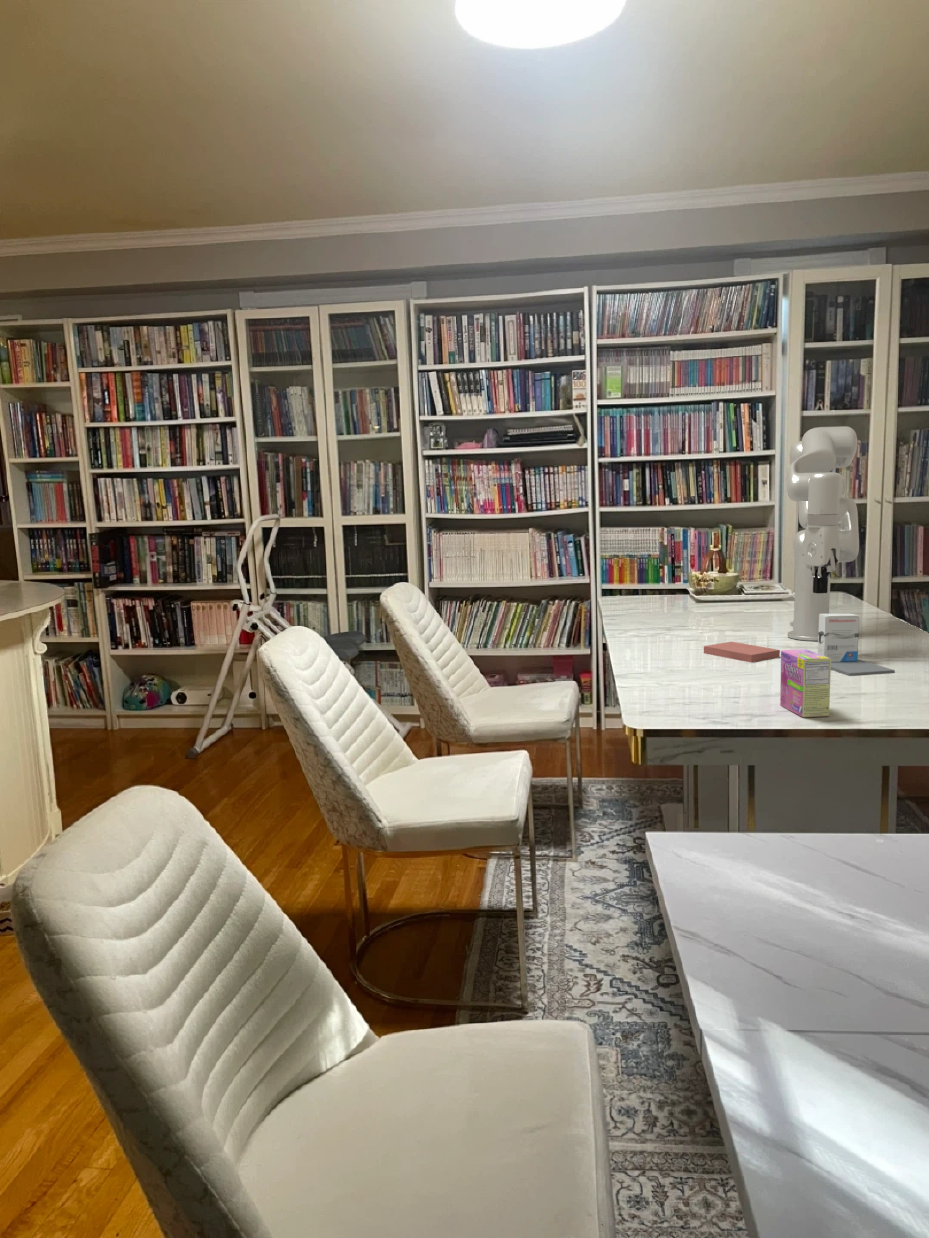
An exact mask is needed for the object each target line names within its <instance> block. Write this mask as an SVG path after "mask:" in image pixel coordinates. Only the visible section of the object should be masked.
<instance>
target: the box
mask: <svg viewBox="0 0 929 1238" xmlns="http://www.w3.org/2000/svg"><path fill="white" fill-rule="evenodd" d="M831 672H832V670H831V658H828V657H825V656H823V655H820V654H818V652H814V651H811V650H809V649H807V648H800V649H782V650H780V692H779V693H780V694H779V695H780V699H779V702H780V703H779V704H780V706H781V707H782V708H784V709H787V711H790V712H792V713H794V714H796V715H798V716H800V717H801V718H818V717H819V718H821V717H822V718H823V717H830V701H831V700H830V698H831Z"/></svg>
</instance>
